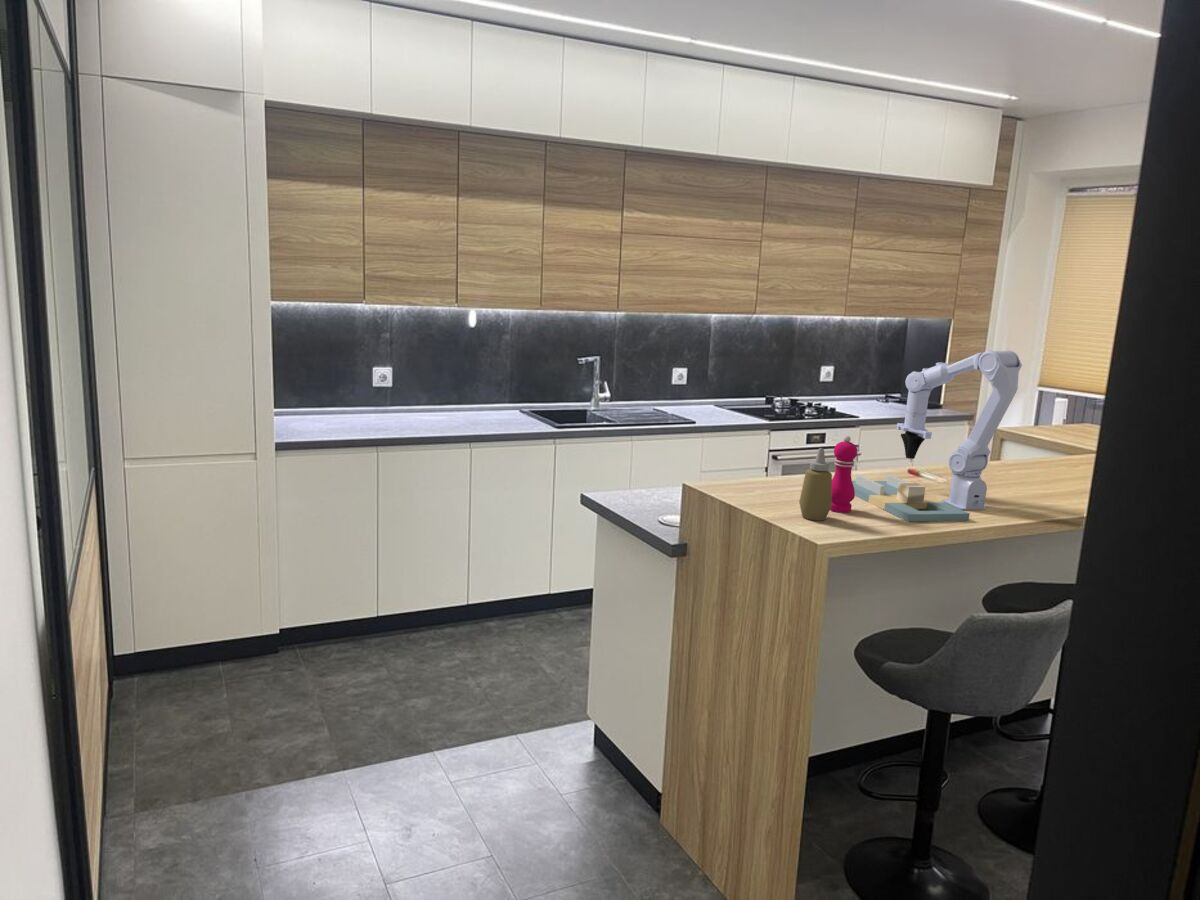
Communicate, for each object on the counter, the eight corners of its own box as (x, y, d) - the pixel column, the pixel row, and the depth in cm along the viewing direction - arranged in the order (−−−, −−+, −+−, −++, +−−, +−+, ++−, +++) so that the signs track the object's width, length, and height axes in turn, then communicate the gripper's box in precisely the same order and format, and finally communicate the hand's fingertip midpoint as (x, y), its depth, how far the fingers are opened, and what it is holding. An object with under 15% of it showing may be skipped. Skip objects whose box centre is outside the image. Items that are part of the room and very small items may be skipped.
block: (923, 502, 235) (925, 486, 234) (906, 503, 234) (909, 486, 233) (912, 498, 240) (914, 482, 239) (896, 498, 238) (898, 482, 238)
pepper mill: (833, 513, 226) (842, 438, 222) (819, 506, 233) (828, 433, 229) (858, 513, 228) (867, 438, 224) (843, 505, 235) (852, 433, 231)
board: (968, 520, 227) (971, 504, 226) (907, 521, 223) (910, 505, 222) (893, 487, 260) (895, 472, 259) (839, 487, 256) (841, 472, 255)
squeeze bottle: (791, 516, 221) (798, 447, 218) (808, 511, 227) (816, 444, 223) (819, 524, 216) (827, 453, 212) (836, 519, 221) (844, 450, 218)
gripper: (890, 408, 260) (884, 452, 263) (918, 416, 246) (912, 463, 249) (910, 408, 262) (905, 452, 265) (940, 417, 248) (933, 463, 251)
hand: (910, 458), depth 257 cm, fingers closed
